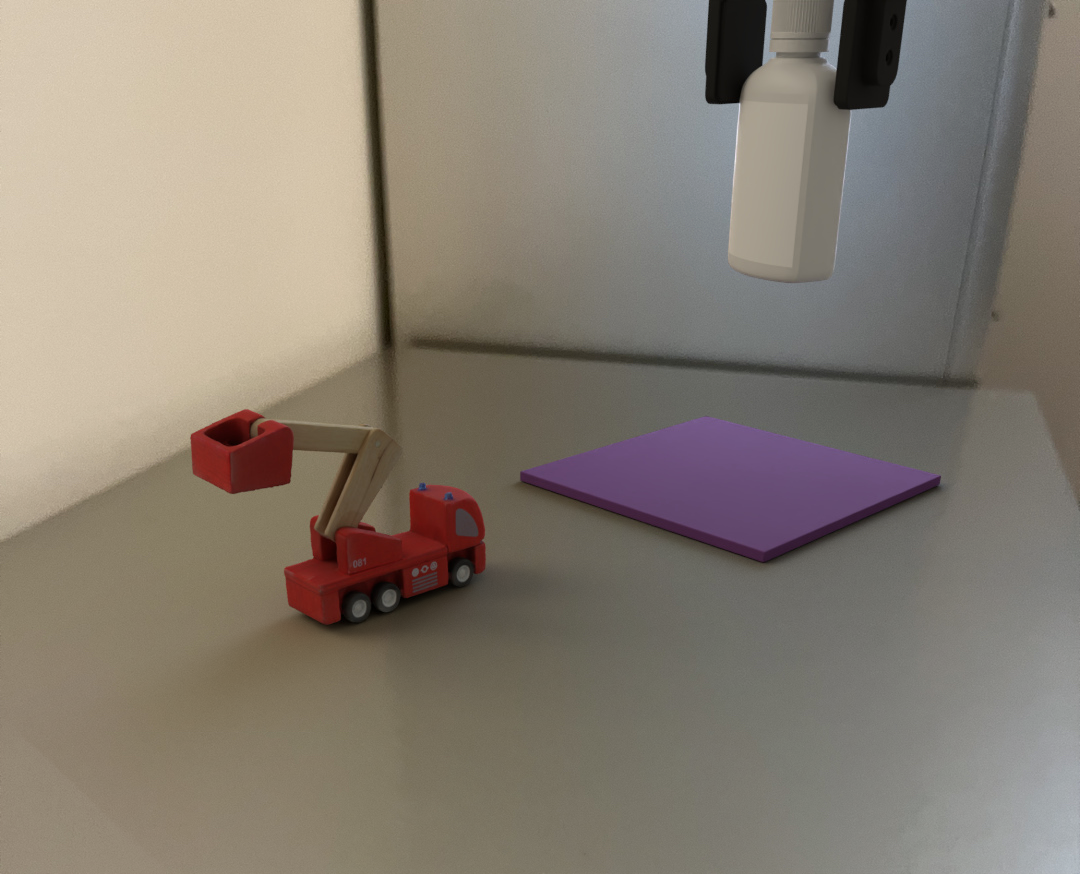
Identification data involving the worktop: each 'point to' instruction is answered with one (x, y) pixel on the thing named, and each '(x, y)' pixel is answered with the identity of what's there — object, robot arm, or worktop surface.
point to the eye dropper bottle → (790, 154)
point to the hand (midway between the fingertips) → (794, 100)
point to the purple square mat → (732, 485)
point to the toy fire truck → (348, 514)
